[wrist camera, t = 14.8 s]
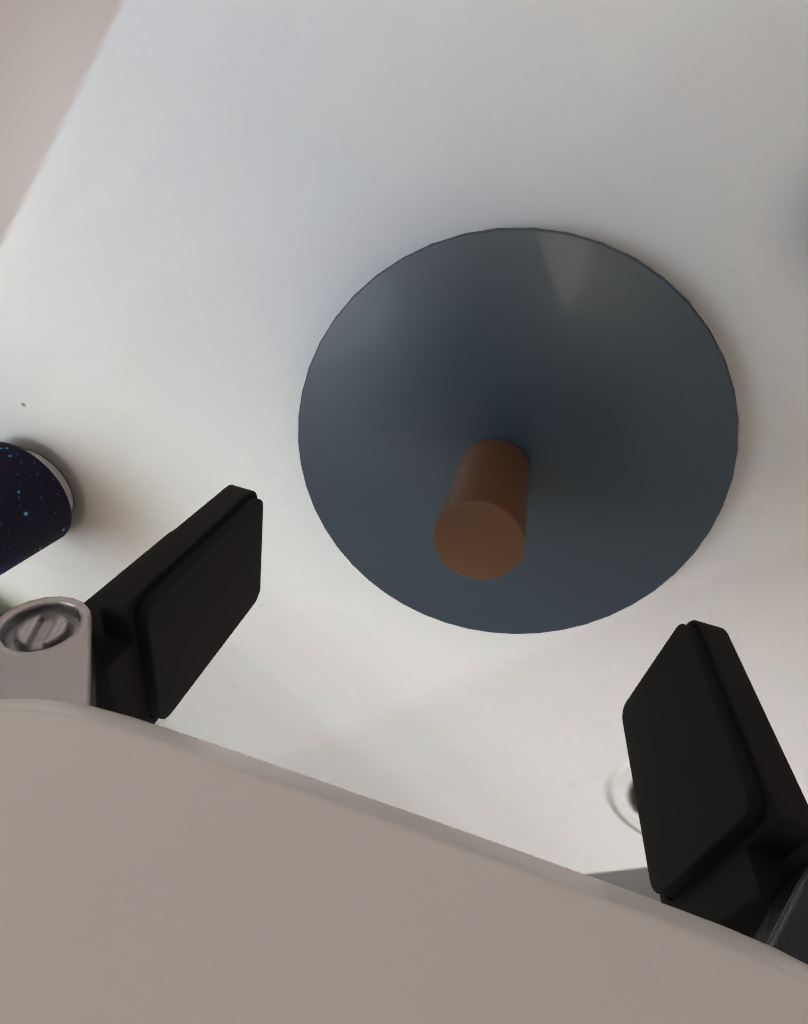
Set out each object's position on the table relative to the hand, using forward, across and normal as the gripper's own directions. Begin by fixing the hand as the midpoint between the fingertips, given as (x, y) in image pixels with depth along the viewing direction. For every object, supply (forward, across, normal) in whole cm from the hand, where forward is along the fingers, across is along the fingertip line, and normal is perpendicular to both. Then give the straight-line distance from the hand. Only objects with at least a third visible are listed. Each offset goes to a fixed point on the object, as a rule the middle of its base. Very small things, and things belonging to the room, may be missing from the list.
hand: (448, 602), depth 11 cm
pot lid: (+9, 0, 0) cm, 9 cm away
